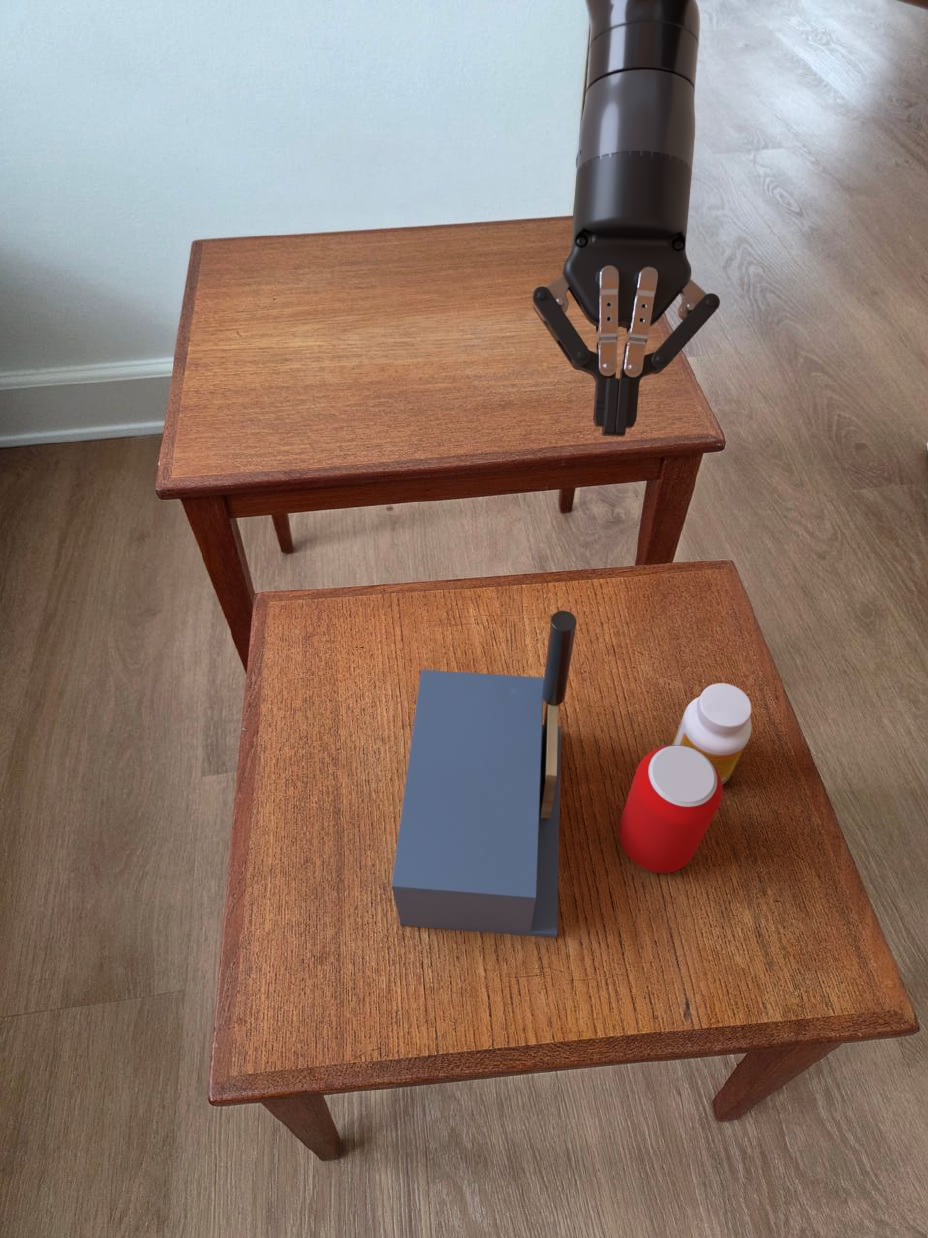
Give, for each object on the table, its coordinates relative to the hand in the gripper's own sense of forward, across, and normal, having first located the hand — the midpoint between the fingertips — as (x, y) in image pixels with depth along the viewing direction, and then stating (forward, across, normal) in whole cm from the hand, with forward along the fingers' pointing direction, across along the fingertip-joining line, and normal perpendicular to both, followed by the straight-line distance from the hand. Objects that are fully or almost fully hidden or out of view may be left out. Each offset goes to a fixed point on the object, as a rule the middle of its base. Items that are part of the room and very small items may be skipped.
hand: (613, 435), depth 59 cm
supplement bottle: (+27, +11, +12) cm, 31 cm away
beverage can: (+32, +6, +7) cm, 33 cm away
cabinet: (+31, -8, +7) cm, 33 cm away
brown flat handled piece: (+27, -3, +9) cm, 29 cm away
